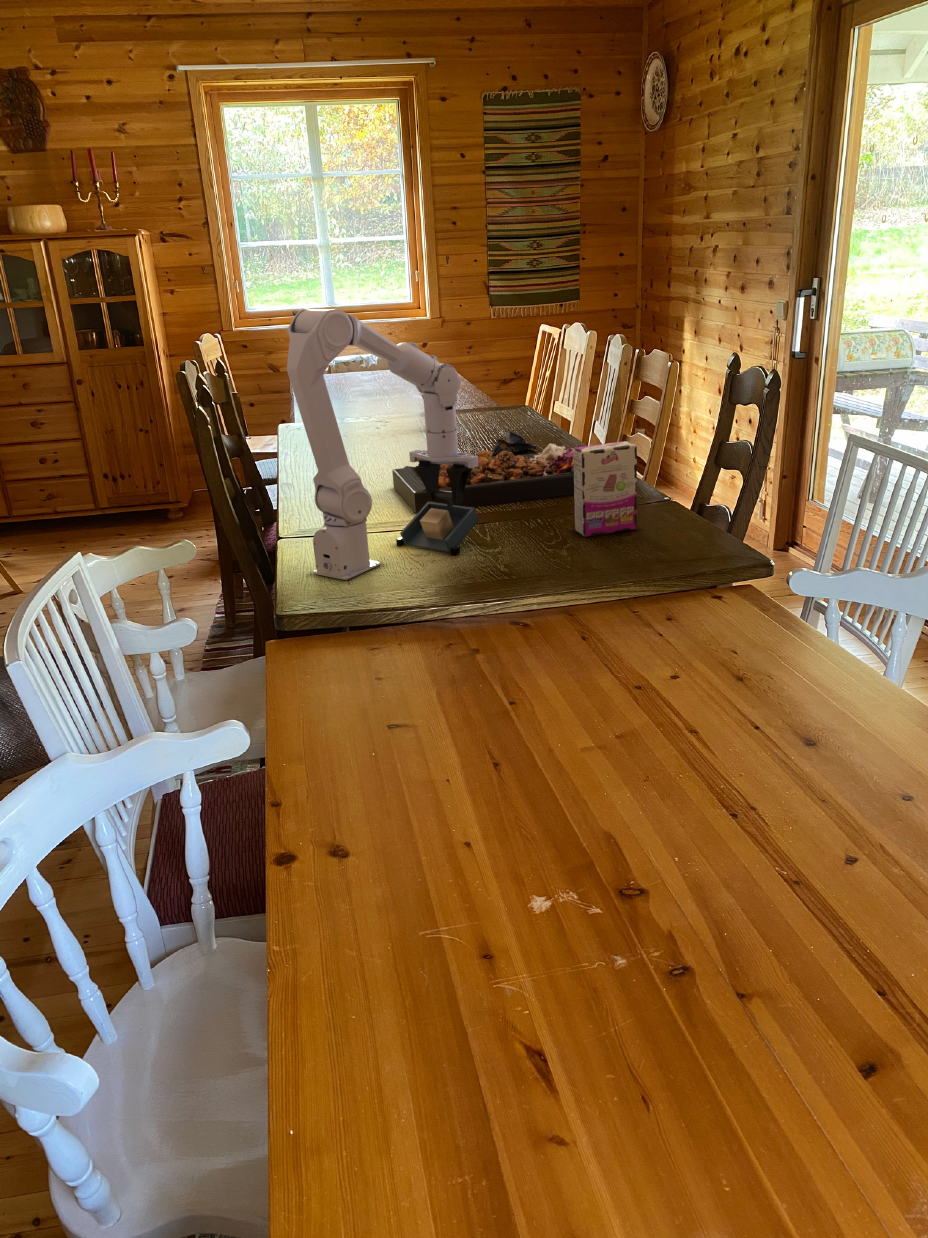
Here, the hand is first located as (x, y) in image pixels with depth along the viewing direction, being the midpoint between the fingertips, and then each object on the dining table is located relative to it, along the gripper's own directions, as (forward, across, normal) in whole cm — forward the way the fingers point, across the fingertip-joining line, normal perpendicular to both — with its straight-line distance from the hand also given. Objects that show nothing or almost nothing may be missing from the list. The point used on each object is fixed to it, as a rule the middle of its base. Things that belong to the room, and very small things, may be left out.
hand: (446, 502), depth 173 cm
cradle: (+8, 0, +7) cm, 10 cm away
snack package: (+8, +31, -72) cm, 79 cm away
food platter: (+8, +13, -37) cm, 40 cm away
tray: (+6, 0, +2) cm, 6 cm away
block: (+5, 0, +3) cm, 6 cm away
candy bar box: (+8, -24, -18) cm, 31 cm away
